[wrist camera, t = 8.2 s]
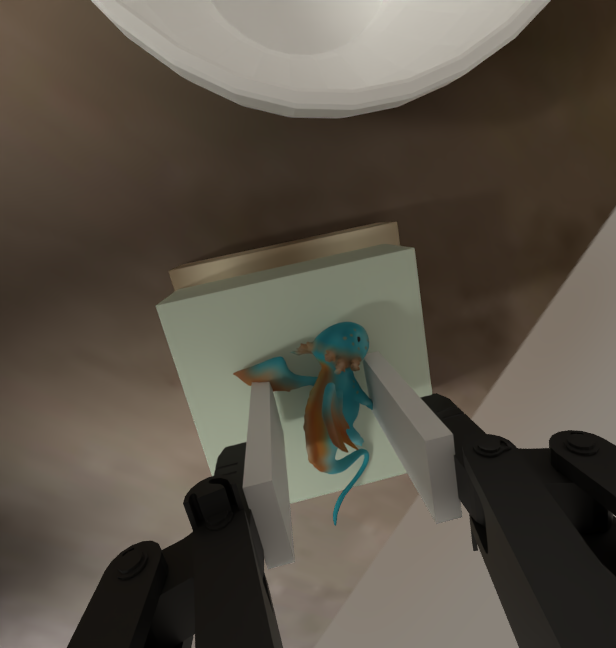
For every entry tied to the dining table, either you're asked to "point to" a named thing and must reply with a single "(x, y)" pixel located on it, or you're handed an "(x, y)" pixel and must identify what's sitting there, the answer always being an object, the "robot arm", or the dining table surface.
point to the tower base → (283, 254)
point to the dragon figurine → (326, 396)
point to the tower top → (284, 337)
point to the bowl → (321, 47)
